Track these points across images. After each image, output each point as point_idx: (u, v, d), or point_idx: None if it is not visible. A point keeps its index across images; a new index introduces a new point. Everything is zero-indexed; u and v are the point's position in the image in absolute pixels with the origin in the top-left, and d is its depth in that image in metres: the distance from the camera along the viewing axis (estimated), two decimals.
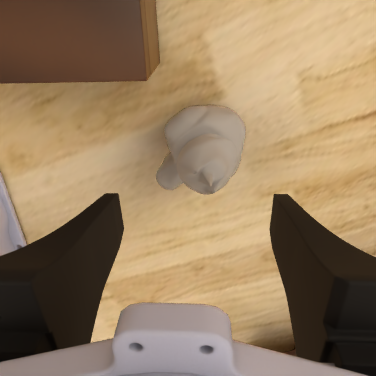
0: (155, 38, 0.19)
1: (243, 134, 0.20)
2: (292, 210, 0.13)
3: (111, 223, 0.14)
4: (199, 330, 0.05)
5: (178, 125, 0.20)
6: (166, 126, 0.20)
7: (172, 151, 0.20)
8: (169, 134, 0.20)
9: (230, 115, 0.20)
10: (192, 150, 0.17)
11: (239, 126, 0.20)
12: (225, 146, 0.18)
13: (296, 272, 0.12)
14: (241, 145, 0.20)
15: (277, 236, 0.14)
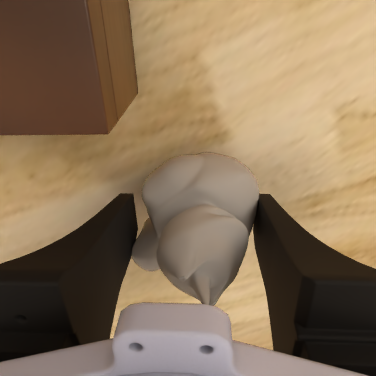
0: (128, 61, 0.13)
1: (256, 199, 0.14)
2: (272, 210, 0.13)
3: (127, 224, 0.14)
4: (199, 330, 0.05)
5: (161, 188, 0.13)
6: (144, 187, 0.14)
7: (153, 222, 0.14)
8: (148, 200, 0.14)
9: (237, 173, 0.13)
10: (178, 238, 0.11)
11: (250, 188, 0.13)
12: (230, 230, 0.12)
13: (274, 272, 0.12)
14: (253, 215, 0.14)
15: (259, 236, 0.14)
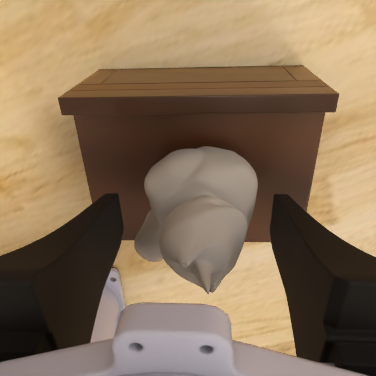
0: None
1: (254, 191, 0.14)
2: (292, 210, 0.13)
3: (111, 223, 0.14)
4: (199, 330, 0.05)
5: (162, 180, 0.14)
6: (146, 179, 0.14)
7: (155, 214, 0.15)
8: (150, 192, 0.14)
9: (236, 166, 0.14)
10: (180, 227, 0.12)
11: (249, 180, 0.14)
12: (230, 219, 0.12)
13: (296, 272, 0.12)
14: (252, 206, 0.14)
15: (277, 236, 0.14)
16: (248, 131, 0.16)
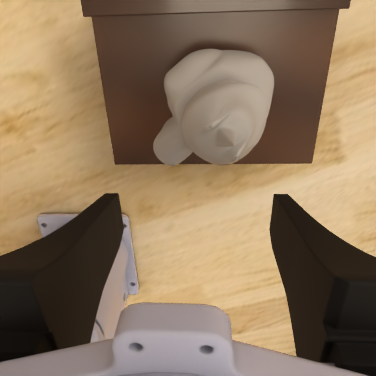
0: None
1: (271, 86, 0.15)
2: (292, 210, 0.13)
3: (112, 223, 0.14)
4: (199, 330, 0.05)
5: (183, 72, 0.14)
6: (166, 76, 0.15)
7: (175, 110, 0.15)
8: (171, 86, 0.15)
9: (254, 58, 0.14)
10: (204, 99, 0.12)
11: (266, 74, 0.14)
12: (251, 94, 0.12)
13: (296, 272, 0.12)
14: (269, 101, 0.15)
15: (277, 236, 0.14)
16: (263, 39, 0.16)
